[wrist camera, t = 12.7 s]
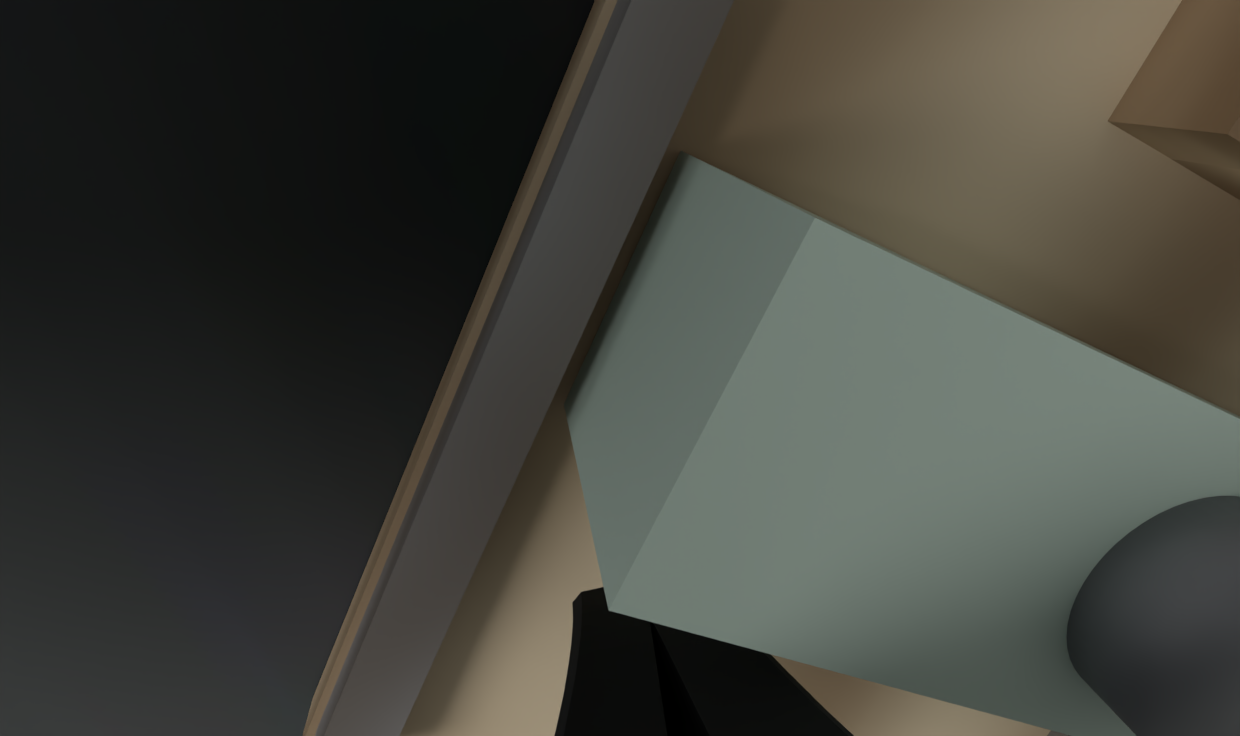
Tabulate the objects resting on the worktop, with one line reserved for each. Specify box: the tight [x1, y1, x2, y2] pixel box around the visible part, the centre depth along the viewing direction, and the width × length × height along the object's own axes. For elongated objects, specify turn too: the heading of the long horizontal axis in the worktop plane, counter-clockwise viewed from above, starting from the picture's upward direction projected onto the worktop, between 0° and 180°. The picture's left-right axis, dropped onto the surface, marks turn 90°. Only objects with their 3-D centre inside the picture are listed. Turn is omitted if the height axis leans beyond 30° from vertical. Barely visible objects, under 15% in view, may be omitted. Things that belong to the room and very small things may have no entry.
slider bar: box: [564, 151, 1240, 736], centre depth 8 cm, size 9×3×4 cm, turn 65°
